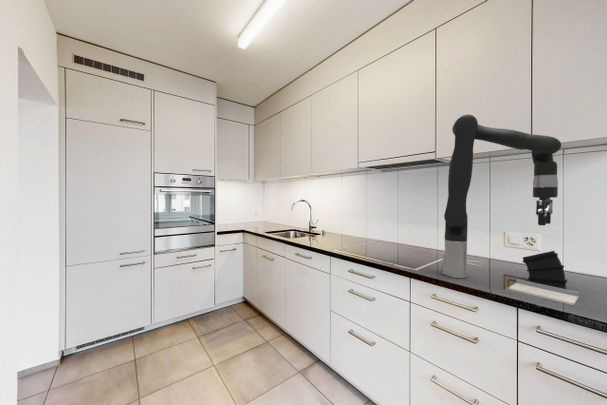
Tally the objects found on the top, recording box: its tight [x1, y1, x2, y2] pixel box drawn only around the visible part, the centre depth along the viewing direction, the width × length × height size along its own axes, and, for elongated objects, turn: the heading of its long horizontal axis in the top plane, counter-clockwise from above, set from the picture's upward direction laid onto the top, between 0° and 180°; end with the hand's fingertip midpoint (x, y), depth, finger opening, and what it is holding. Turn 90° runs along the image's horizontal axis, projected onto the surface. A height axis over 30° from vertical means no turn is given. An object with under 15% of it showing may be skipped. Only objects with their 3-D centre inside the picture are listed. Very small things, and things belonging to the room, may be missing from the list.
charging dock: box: [508, 278, 580, 306], centre depth 96 cm, size 18×10×2 cm, turn 35°
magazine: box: [522, 250, 568, 289], centre depth 105 cm, size 4×13×15 cm, turn 36°
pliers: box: [467, 260, 486, 267], centre depth 141 cm, size 10×2×15 cm
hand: (544, 224), depth 104 cm, fingers open, 8 cm apart
